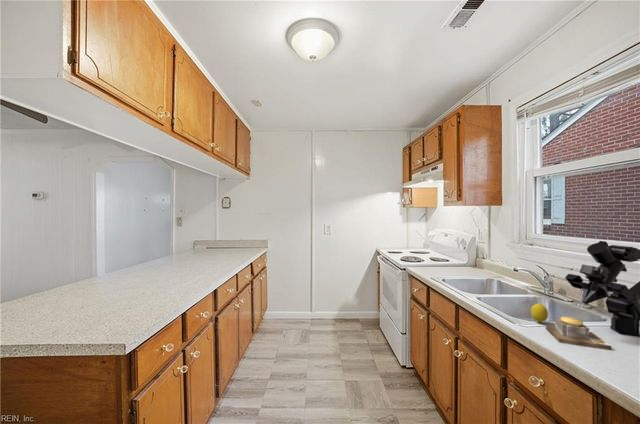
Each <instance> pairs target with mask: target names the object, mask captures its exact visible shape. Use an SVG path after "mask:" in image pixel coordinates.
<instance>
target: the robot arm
mask: <svg viewBox="0 0 640 424" xmlns="http://www.w3.org/2000/svg"><path fill="white" fill-rule="evenodd" d="M586 251H587V252H588V253H589V255H590V256H591V257H592V258H593V260H594V261H595V262H596V263H598V264H599V265H598V266H594V265H587V264H581V266H580V270H579V275H578V274H573V273H567V275H565V277H564V279H565V280H566V281H567V283H569V284H570V286H571V287H573V288H575V289H579V290H582V291H583V293H582V300H581V302H582V304H584V305H588V304H590V303H593V302H595V301H598V300H602V299H605V306H606V309H607V313H608V314H609V313H610V314H612V317H611V318H610V321H611V322H610V326H609V328H610V329H611V330H612V331H615V332H616V333H618V334H619V335H626V336H636V337H640V280H639V281H638V282H637V283H635V284H633V286H631V287H630V288H628V287H627V285H626V284H621V283H617V282H618V279H617V277H618V276H619V274H620V273H621V272H624V273H626V272H627V271H628V270H627V267H626V265H625V264H624V263H623V262H625V263H626V262H627V263H636V262H638V261H639V260H640V249H639V248H637V247H633V246H628V245H627V246H625V245H618V244H617V245H615V244H611V245H609V244H608V242H607V241H605V240H599V241H598V242H595V243H592V244H591V245H589V246H588V247H587V248H586ZM580 274H583V275H584V277H585V278H582V277H581V275H580Z"/></svg>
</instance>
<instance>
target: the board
mask: <svg viewBox="0 0 640 424" xmlns="http://www.w3.org/2000/svg"><path fill="white" fill-rule="evenodd" d="M554 320H555V321H554V323H555V326H549V325H548V326H547V325H546V326H545V330H546V331H547V332H548V333H549V334H550V335H551V336H552V337H553V338H554V339H555V340H556V341H557V342H558V343H562V344H567V343H568V344H569V345H575V346H582V347H589V348H594V349H595V348H596V349H602V350H608V351H609V350H610V351H611V350H612V345H611V344H609V343H608V342H607V341H605V340H604V339H602V338H601V337H599V336H598V335H596V334H595V333H594V332H593V331H590V328H589V327H587V326H586V325H585V324H583V325H582V326H579V327H578V326H571V325H566V324H564V322H562V321H561V318H555V319H554Z"/></svg>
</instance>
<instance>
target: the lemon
mask: <svg viewBox="0 0 640 424" xmlns="http://www.w3.org/2000/svg"><path fill="white" fill-rule="evenodd" d="M530 315H531V317H532V318H533V319H534V320H535V321H537V323H538V324H539V323H540V324H541V323H542V322H546V321H547V319H548V317H549V312H548V308H547V306H545V305H544V304H542V303H541V302H539V303H535V304H534V305H532V306H531V309H530Z"/></svg>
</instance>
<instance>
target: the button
mask: <svg viewBox="0 0 640 424" xmlns="http://www.w3.org/2000/svg"><path fill="white" fill-rule="evenodd" d="M560 319H561V321H562V322H564V324H566V325H571V326H578V327H579V326H582V325H584V324H583V323H584V322H583V320H581V319H579V318H575V317H571V316H561V317H560Z"/></svg>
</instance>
